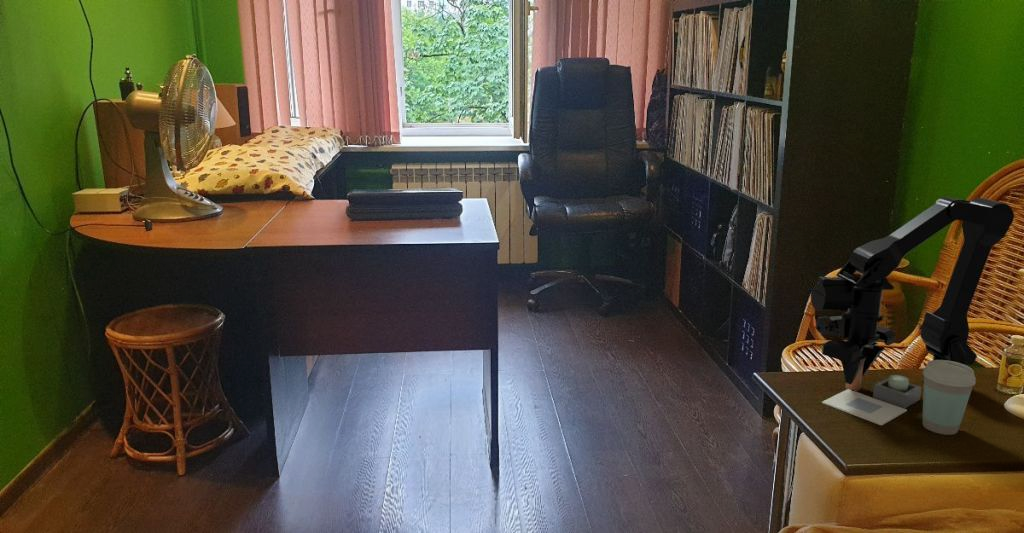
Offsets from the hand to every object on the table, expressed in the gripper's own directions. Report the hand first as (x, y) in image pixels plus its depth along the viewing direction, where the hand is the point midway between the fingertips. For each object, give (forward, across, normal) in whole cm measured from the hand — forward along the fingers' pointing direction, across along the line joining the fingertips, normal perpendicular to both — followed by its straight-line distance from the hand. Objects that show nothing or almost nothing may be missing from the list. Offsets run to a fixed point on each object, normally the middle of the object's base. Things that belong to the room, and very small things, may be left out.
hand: (853, 381), depth 159 cm
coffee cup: (+2, +4, +19) cm, 19 cm away
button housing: (+2, -2, +8) cm, 8 cm away
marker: (+2, 0, 0) cm, 2 cm away
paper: (+2, +7, +6) cm, 9 cm away
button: (0, -2, +8) cm, 8 cm away
